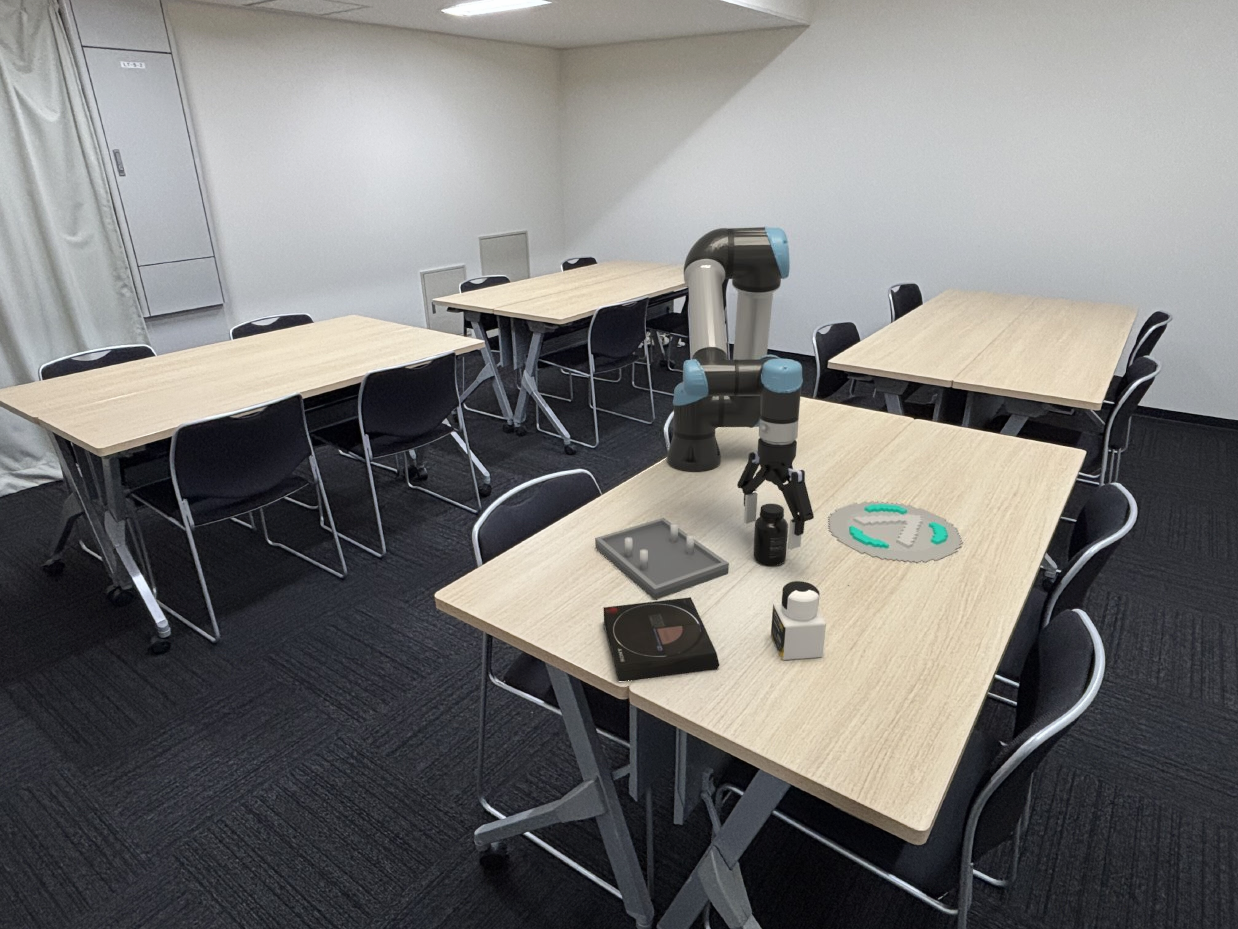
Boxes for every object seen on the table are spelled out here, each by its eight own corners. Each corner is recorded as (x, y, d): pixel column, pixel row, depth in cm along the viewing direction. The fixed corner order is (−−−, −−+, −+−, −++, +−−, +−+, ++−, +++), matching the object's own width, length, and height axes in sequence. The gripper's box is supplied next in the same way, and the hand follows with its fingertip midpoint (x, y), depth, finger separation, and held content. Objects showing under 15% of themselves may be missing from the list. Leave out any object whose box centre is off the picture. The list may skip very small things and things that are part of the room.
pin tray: (595, 548, 157) (594, 526, 154) (663, 527, 165) (663, 505, 163) (654, 600, 138) (654, 575, 135) (728, 573, 146) (729, 550, 144)
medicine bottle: (770, 635, 127) (774, 577, 122) (809, 632, 127) (814, 575, 122) (781, 661, 120) (786, 601, 115) (823, 658, 120) (829, 598, 116)
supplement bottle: (787, 553, 153) (791, 503, 148) (783, 569, 147) (787, 517, 142) (755, 548, 155) (758, 499, 150) (750, 564, 149) (753, 513, 144)
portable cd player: (719, 671, 119) (720, 652, 117) (618, 684, 116) (618, 665, 115) (693, 614, 134) (694, 596, 132) (604, 625, 131) (603, 607, 130)
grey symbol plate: (987, 540, 157) (988, 534, 156) (902, 578, 144) (903, 571, 143) (884, 495, 179) (885, 489, 178) (802, 524, 166) (803, 517, 165)
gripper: (723, 424, 148) (719, 516, 156) (809, 462, 128) (800, 564, 136) (750, 418, 152) (746, 507, 160) (838, 454, 132) (828, 554, 140)
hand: (771, 534), depth 148 cm, fingers open, 13 cm apart
